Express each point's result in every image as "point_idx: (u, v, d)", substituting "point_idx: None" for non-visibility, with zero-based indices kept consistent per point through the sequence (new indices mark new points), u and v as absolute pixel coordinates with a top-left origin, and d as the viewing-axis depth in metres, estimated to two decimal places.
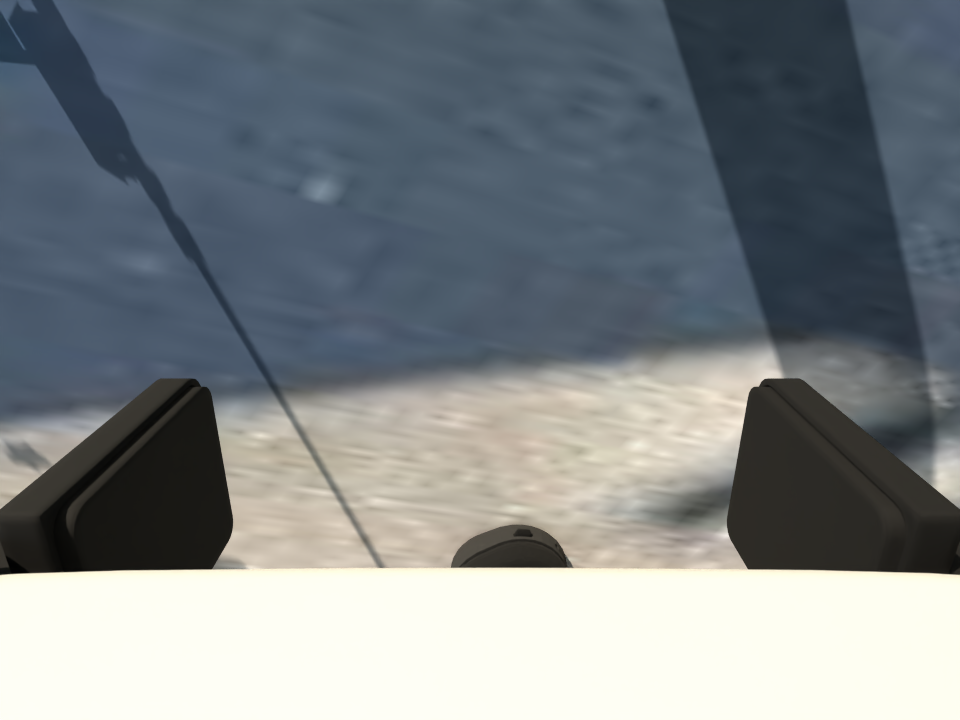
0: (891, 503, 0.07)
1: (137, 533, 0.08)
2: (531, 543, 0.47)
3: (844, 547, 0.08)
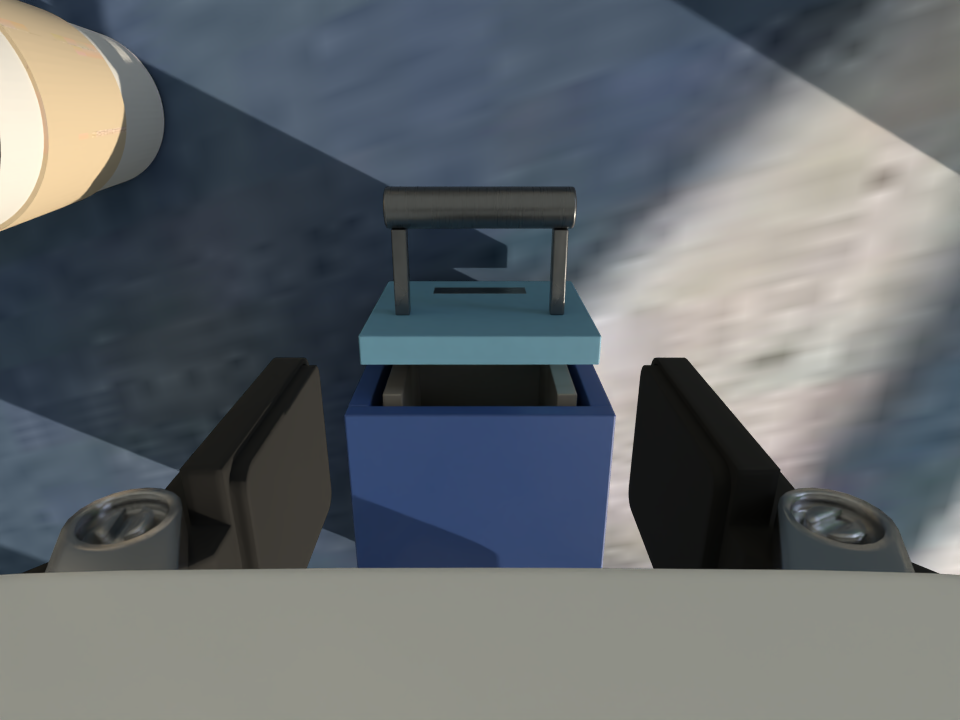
0: (722, 459, 0.08)
1: (279, 493, 0.09)
2: None
3: (692, 503, 0.08)
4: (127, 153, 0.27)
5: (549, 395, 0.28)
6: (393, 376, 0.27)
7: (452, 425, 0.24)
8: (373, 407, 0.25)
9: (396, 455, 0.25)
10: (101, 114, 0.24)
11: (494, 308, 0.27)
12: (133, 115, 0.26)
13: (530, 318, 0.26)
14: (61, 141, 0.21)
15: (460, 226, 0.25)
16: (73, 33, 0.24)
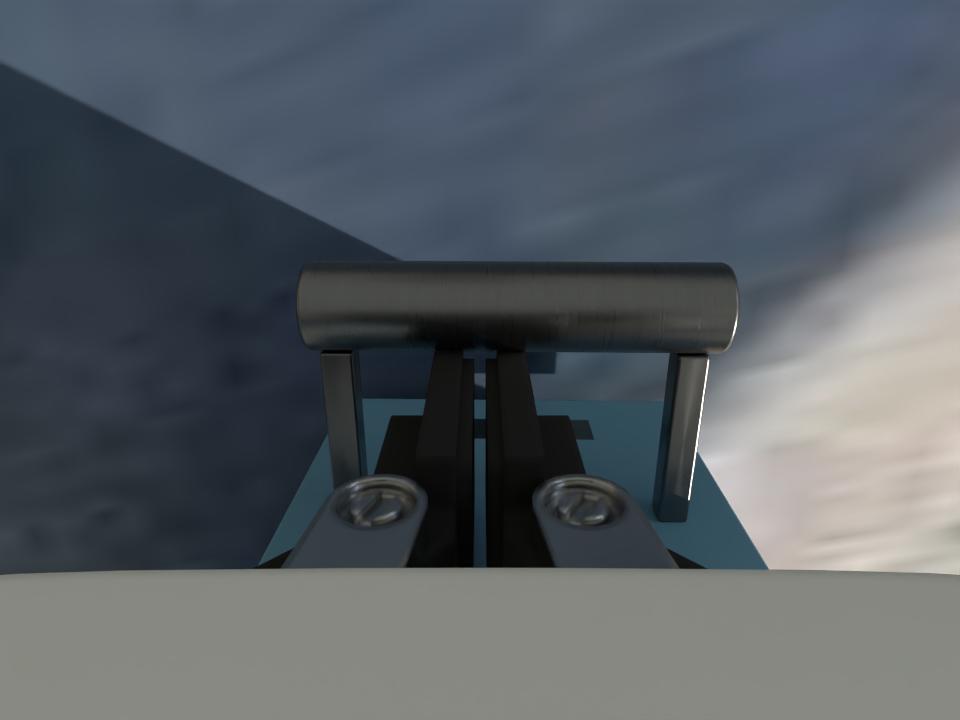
0: (501, 447, 0.08)
1: None
2: None
3: (487, 490, 0.09)
4: None
5: None
6: None
7: None
8: None
9: None
10: None
11: None
12: None
13: None
14: None
15: (471, 350, 0.11)
16: None
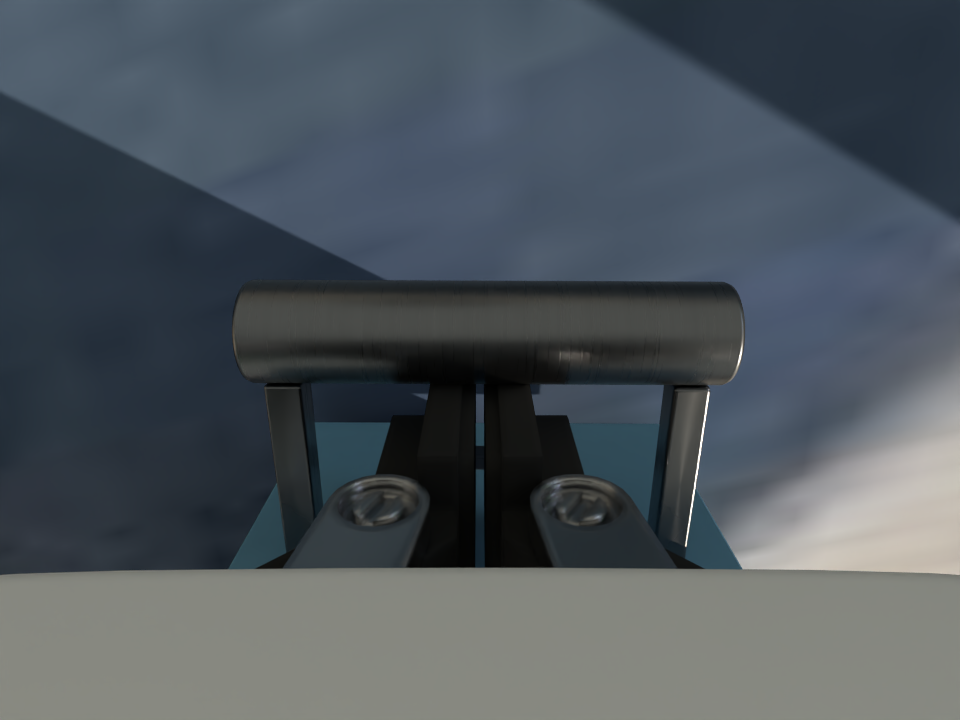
0: (499, 448, 0.08)
1: (474, 481, 0.09)
2: None
3: (485, 490, 0.09)
4: None
5: None
6: None
7: None
8: None
9: None
10: None
11: None
12: None
13: None
14: None
15: (438, 383, 0.10)
16: None
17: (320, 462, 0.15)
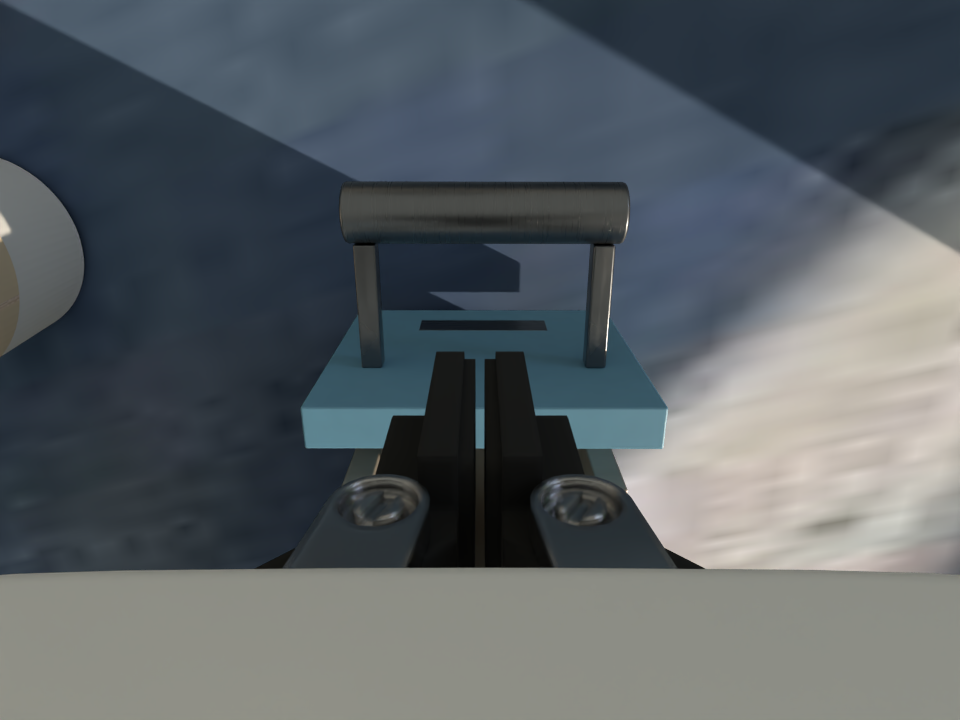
0: (499, 447, 0.08)
1: (473, 481, 0.09)
2: None
3: None
4: (25, 320, 0.21)
5: None
6: (360, 453, 0.19)
7: None
8: None
9: None
10: None
11: None
12: (32, 273, 0.20)
13: (557, 374, 0.18)
14: None
15: (455, 240, 0.17)
16: None
17: None
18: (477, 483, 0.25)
